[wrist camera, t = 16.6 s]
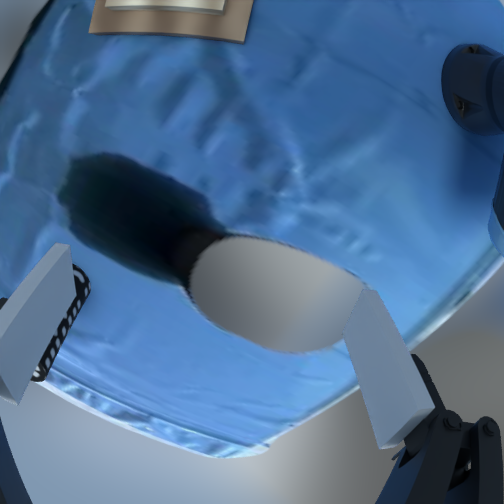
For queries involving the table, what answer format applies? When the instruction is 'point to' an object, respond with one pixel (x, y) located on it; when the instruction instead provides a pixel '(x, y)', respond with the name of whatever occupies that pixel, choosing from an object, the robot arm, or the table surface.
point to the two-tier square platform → (173, 18)
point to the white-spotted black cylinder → (63, 325)
